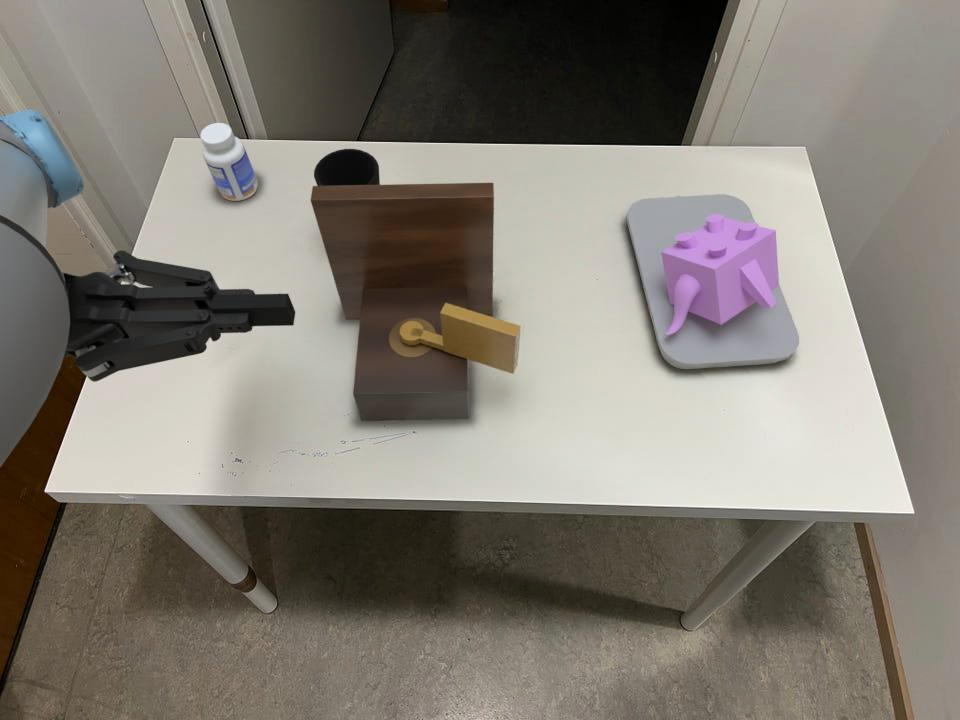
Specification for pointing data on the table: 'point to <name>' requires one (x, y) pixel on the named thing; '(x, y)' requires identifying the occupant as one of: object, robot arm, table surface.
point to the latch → (470, 337)
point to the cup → (347, 169)
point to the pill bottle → (228, 162)
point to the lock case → (408, 286)
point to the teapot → (720, 270)
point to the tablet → (698, 339)
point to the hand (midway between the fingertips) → (290, 309)
